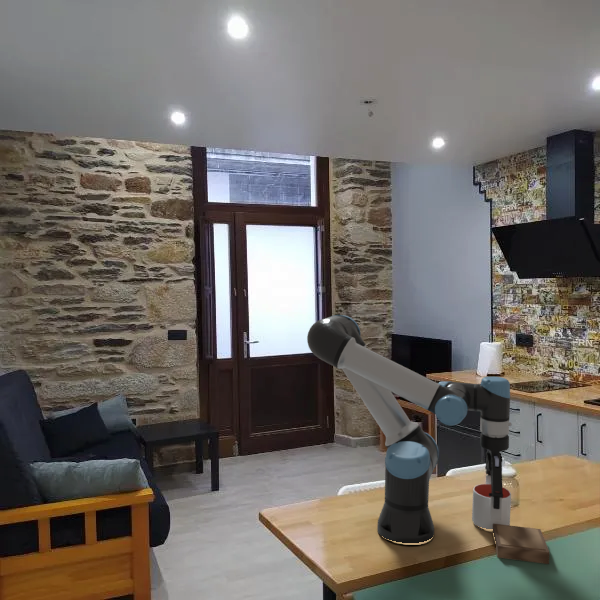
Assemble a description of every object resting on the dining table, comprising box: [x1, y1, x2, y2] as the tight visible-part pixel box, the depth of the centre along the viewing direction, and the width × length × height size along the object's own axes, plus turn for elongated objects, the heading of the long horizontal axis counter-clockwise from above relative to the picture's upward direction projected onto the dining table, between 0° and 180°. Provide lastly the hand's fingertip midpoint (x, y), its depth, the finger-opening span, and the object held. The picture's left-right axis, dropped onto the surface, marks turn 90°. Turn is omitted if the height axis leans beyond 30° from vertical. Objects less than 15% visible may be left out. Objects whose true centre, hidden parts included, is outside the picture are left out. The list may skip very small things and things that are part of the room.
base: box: [493, 524, 551, 565], centre depth 144 cm, size 12×12×3 cm
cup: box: [471, 483, 512, 529], centre depth 155 cm, size 10×10×10 cm
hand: (492, 508), depth 155 cm, fingers open, 13 cm apart
